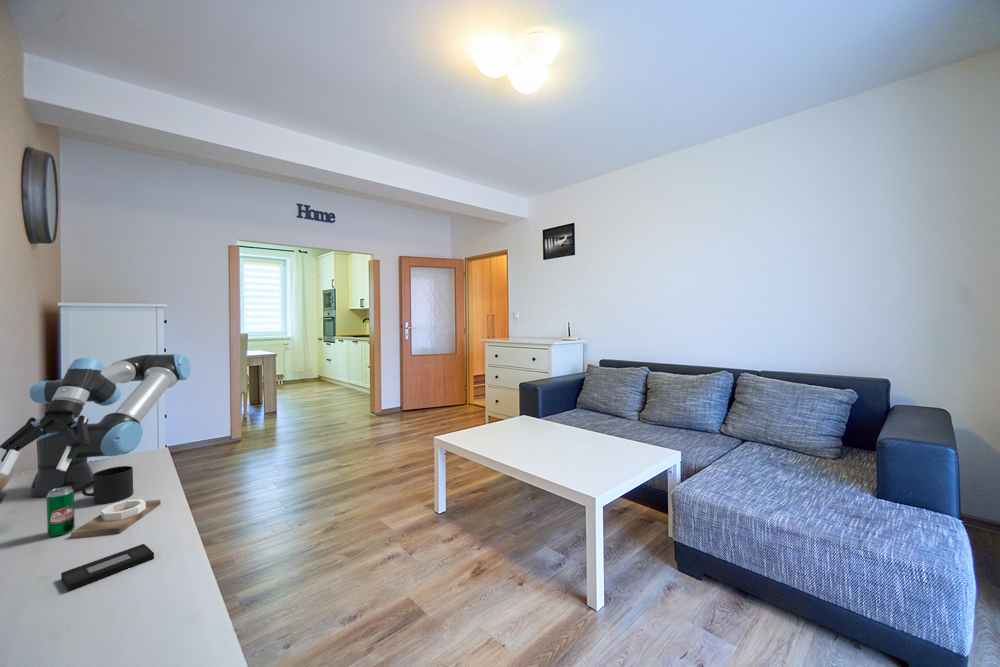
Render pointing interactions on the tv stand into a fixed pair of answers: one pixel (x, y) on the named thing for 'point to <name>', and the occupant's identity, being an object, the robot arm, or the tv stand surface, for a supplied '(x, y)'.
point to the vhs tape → (106, 567)
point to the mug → (111, 485)
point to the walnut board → (112, 523)
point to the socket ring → (110, 512)
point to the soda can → (60, 511)
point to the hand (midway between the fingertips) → (32, 471)
